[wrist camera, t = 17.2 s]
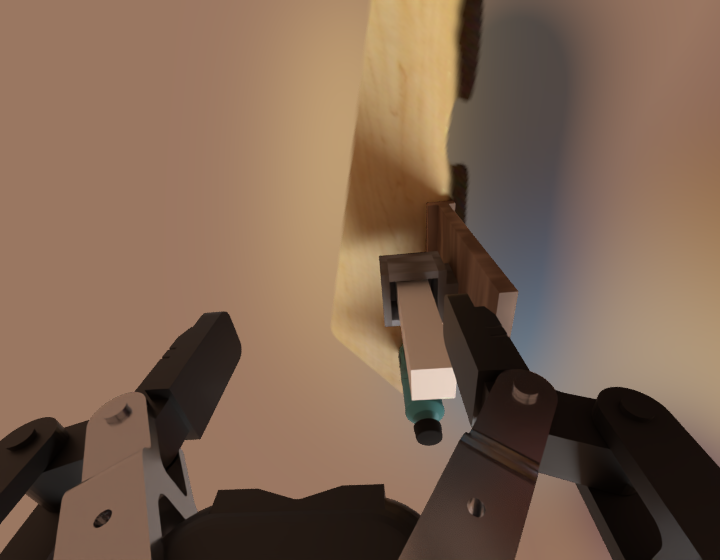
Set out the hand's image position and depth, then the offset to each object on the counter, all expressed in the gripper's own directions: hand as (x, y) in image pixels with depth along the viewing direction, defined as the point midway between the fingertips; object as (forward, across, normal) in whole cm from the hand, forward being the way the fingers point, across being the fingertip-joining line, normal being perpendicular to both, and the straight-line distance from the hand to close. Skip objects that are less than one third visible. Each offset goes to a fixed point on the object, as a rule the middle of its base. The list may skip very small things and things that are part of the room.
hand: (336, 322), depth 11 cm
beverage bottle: (+38, -7, +37) cm, 54 cm away
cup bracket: (+38, -8, +16) cm, 42 cm away
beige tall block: (+28, -6, +16) cm, 33 cm away
